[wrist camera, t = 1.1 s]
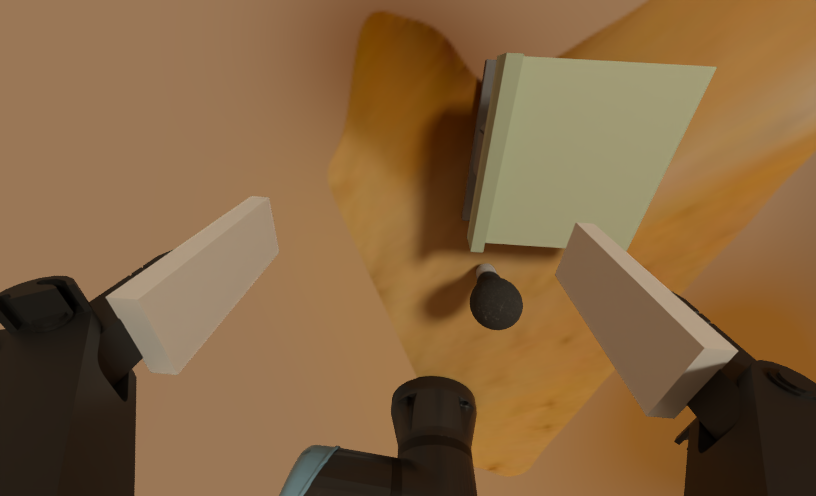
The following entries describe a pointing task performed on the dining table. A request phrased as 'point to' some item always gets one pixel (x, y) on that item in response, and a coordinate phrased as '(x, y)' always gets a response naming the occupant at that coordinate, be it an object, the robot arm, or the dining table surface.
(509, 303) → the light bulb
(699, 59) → the dining table surface
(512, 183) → the pale green square board
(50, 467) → the robot arm
